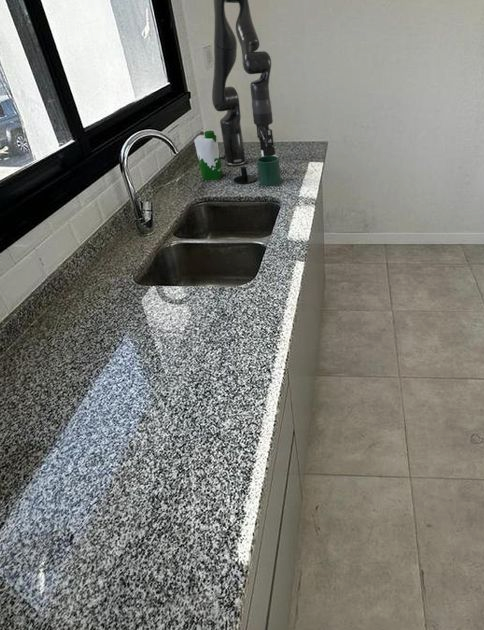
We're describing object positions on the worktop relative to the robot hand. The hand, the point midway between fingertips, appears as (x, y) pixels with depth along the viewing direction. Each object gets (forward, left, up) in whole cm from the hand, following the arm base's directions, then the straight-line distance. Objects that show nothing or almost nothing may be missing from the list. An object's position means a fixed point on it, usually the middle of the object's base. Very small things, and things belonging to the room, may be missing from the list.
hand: (266, 152), depth 181 cm
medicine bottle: (-12, +4, -13) cm, 18 cm away
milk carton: (-19, -21, -13) cm, 31 cm away
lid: (-8, -9, -13) cm, 17 cm away
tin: (0, 0, -13) cm, 13 cm away
